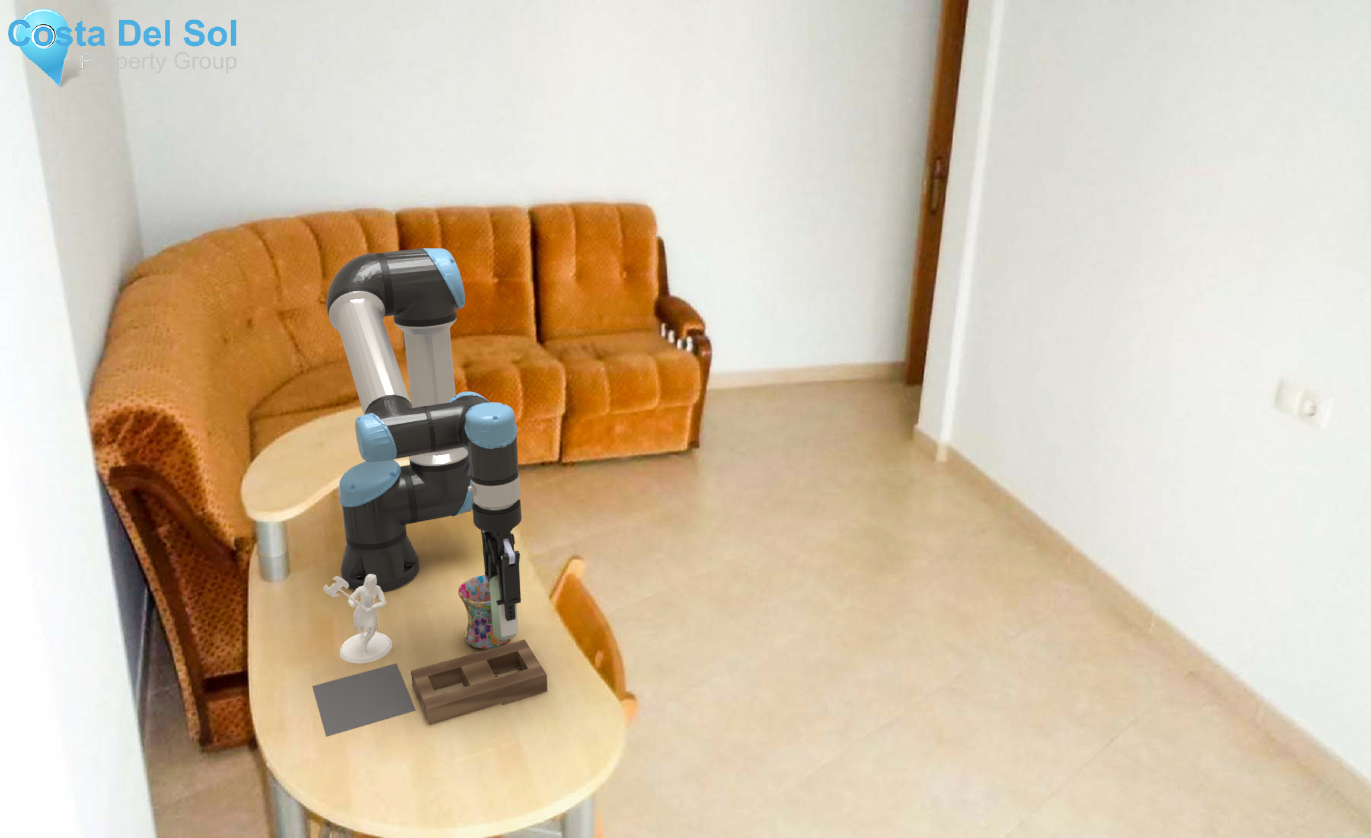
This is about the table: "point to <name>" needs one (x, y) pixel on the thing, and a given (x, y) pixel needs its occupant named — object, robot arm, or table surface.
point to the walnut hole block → (478, 681)
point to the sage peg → (496, 609)
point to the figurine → (363, 622)
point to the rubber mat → (362, 699)
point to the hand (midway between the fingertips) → (505, 626)
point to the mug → (478, 613)
